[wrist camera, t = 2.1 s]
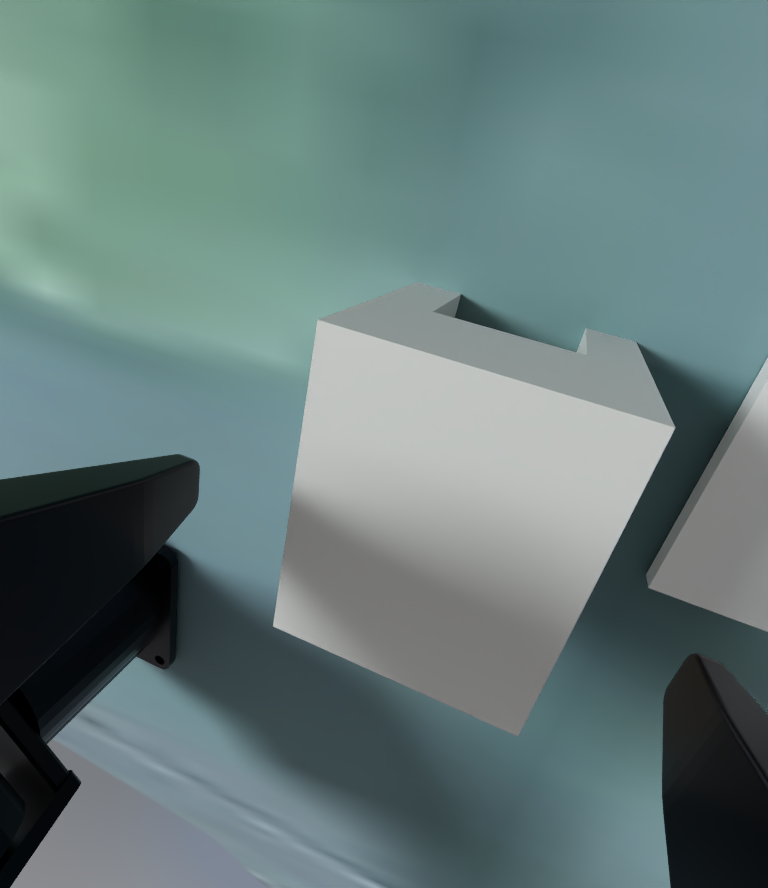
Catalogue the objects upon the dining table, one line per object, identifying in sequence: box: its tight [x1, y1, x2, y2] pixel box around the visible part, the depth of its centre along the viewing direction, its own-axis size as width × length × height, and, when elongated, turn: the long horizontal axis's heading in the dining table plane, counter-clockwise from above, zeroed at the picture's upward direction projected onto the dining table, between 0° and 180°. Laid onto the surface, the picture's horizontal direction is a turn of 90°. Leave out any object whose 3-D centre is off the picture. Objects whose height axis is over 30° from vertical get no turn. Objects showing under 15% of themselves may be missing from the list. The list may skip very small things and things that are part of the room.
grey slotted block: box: [273, 282, 675, 736], centre depth 12 cm, size 7×6×6 cm
